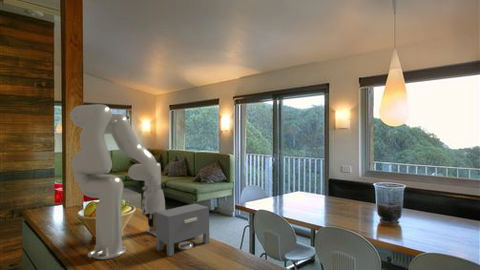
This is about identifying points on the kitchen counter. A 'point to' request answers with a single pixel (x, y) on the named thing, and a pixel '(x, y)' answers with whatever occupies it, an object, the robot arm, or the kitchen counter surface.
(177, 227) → the cabinet
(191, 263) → the kitchen counter surface
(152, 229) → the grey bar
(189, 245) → the token
